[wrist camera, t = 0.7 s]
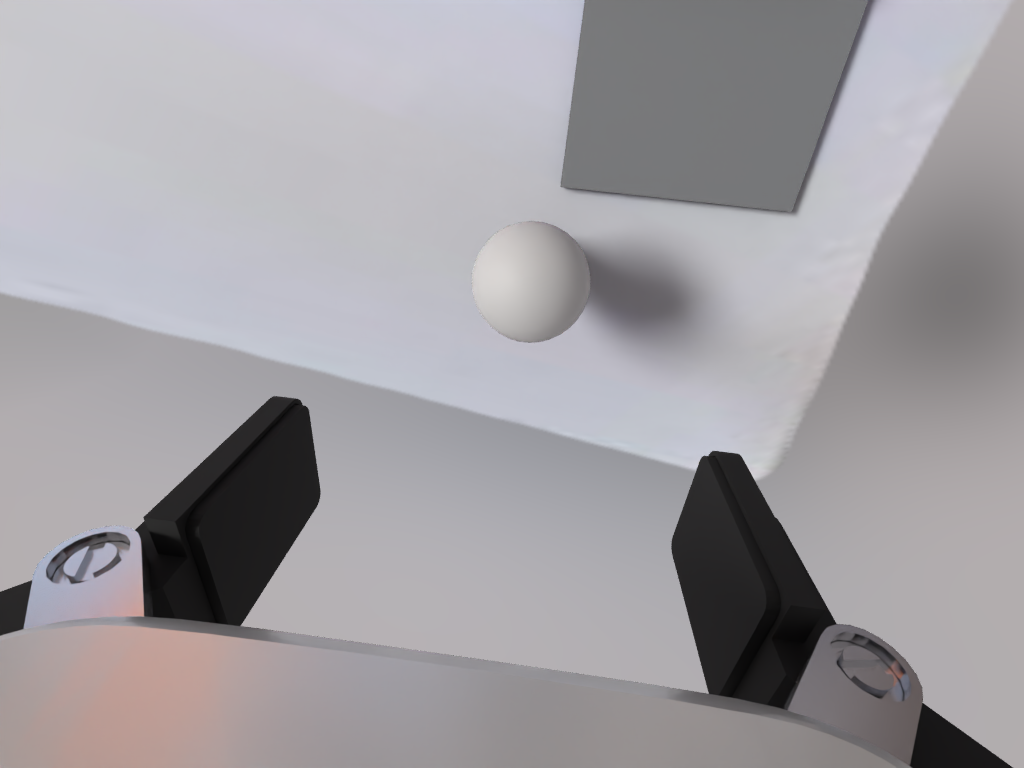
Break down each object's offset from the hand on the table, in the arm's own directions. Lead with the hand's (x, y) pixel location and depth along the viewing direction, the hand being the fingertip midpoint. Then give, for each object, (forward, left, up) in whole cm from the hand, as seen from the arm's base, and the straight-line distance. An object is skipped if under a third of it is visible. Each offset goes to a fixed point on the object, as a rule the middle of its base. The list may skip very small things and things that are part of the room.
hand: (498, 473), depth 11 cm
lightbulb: (0, 0, -23) cm, 23 cm away
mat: (-13, +8, -23) cm, 28 cm away
